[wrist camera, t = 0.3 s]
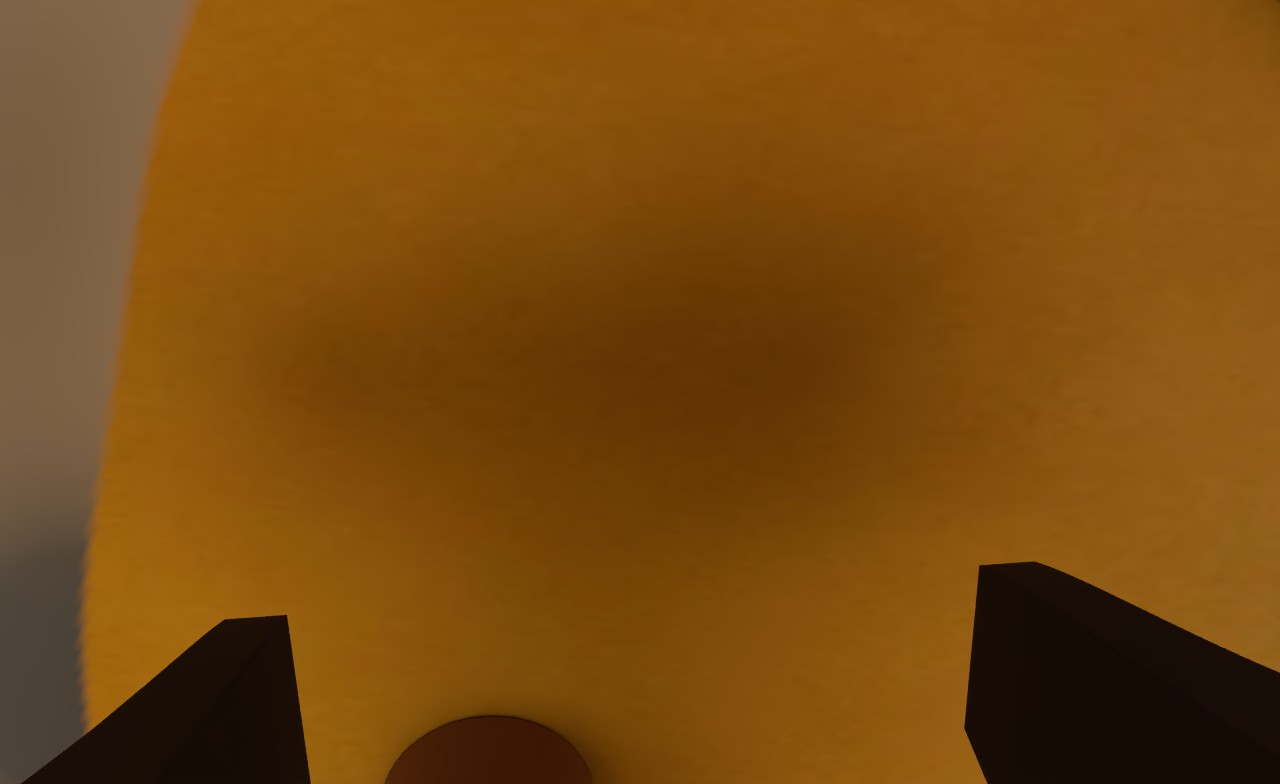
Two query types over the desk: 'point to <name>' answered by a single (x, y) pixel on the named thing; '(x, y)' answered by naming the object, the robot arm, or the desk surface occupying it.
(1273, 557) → the desk surface
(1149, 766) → the robot arm
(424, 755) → the two-tone cylinder
